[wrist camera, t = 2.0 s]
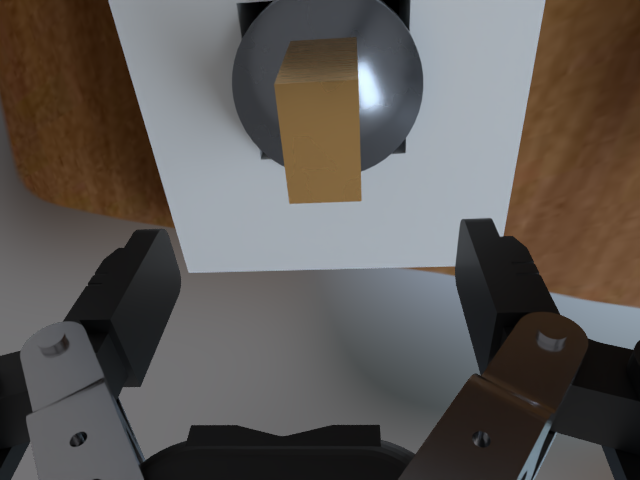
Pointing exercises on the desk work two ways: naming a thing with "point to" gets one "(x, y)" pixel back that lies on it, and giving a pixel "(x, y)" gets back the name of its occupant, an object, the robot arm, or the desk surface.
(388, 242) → the housing
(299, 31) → the end cap
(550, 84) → the desk surface
